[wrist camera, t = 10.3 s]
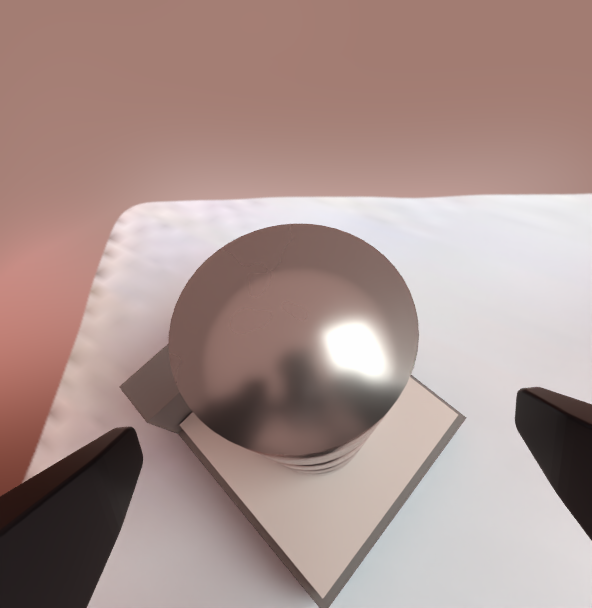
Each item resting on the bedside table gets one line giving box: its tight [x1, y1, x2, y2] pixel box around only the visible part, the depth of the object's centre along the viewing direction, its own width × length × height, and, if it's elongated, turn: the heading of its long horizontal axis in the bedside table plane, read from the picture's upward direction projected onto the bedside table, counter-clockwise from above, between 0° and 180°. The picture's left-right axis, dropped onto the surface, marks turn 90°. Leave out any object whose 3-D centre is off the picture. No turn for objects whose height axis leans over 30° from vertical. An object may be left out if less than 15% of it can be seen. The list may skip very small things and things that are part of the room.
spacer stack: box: [168, 224, 419, 476], centre depth 12 cm, size 5×5×12 cm
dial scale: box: [120, 344, 466, 608], centre depth 18 cm, size 11×14×6 cm
